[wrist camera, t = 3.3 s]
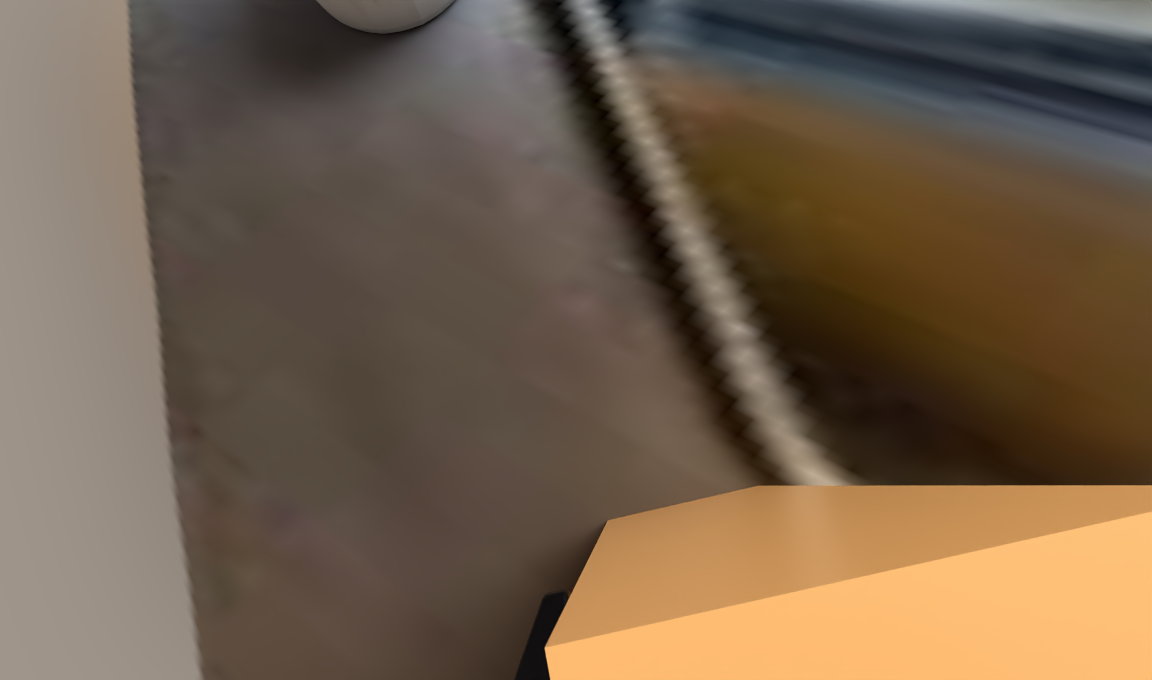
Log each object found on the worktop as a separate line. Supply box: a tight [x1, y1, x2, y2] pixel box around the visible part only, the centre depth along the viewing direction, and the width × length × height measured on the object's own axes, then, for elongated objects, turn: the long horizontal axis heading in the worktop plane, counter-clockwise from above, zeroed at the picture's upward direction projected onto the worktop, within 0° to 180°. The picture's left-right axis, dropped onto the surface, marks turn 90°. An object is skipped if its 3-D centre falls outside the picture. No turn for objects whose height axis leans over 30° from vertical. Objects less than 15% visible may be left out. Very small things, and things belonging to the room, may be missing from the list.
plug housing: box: [545, 486, 1152, 680], centre depth 9 cm, size 4×4×13 cm
